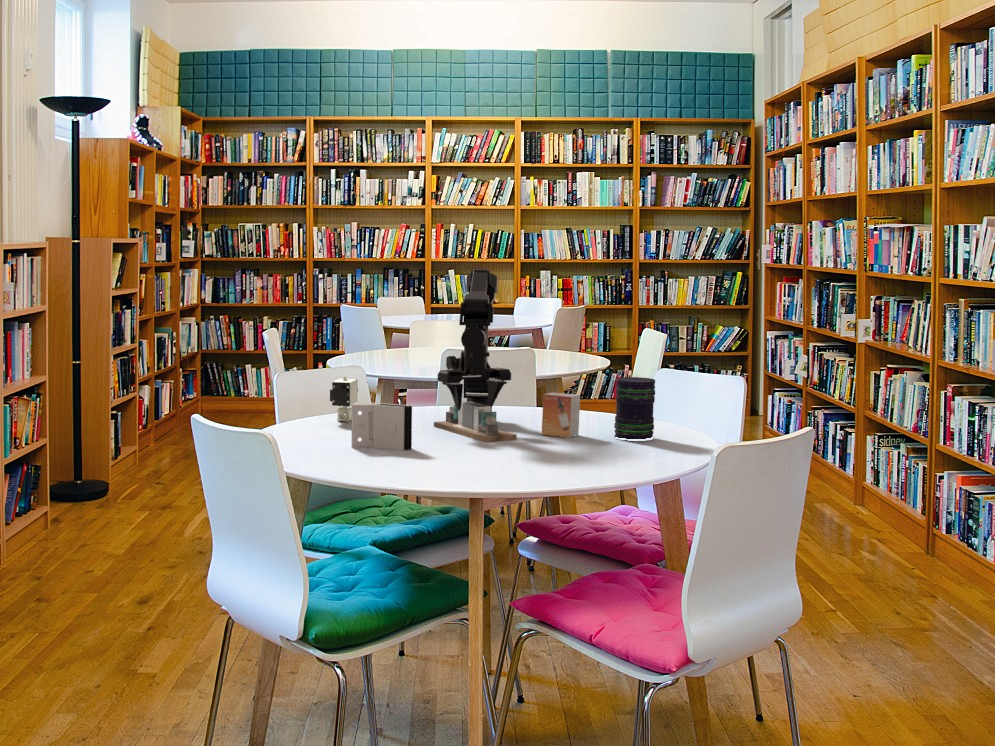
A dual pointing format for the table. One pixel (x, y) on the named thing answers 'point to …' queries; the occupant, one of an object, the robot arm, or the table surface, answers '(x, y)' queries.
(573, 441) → the table surface
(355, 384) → the pneumatic valve
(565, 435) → the small box
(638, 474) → the table surface
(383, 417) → the hinge
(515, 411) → the table surface
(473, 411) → the block
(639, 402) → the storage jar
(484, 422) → the shaft coupling stand
